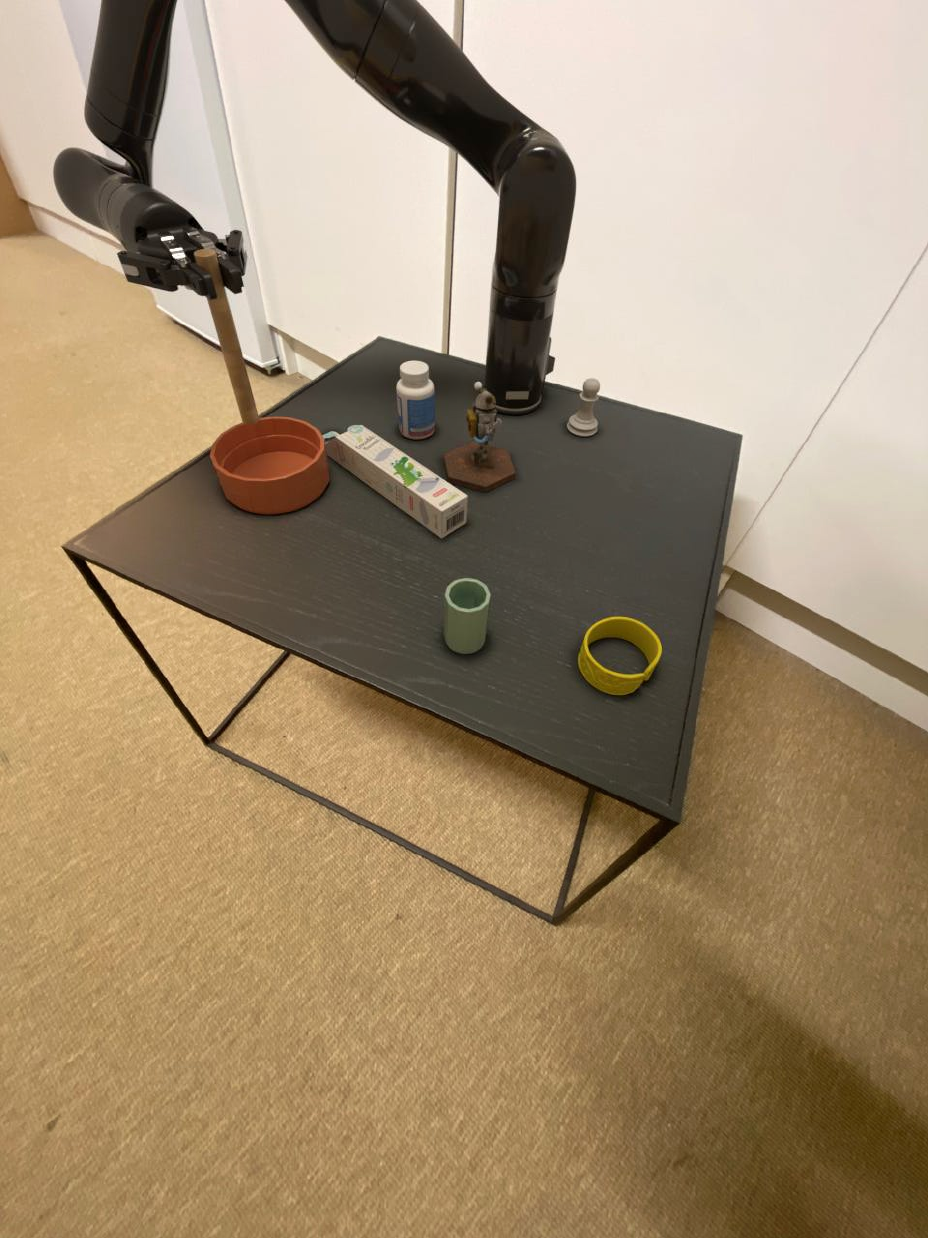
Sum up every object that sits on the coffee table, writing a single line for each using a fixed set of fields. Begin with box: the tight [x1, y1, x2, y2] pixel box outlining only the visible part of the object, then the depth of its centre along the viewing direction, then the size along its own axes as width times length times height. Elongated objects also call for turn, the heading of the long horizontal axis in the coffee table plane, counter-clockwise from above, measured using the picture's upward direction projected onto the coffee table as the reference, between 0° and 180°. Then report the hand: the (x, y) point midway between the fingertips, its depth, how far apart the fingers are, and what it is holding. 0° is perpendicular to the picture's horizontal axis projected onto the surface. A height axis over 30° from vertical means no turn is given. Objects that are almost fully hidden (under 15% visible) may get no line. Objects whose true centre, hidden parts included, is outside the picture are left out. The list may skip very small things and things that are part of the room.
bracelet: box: [577, 616, 663, 696], centre depth 58 cm, size 7×8×3 cm
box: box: [321, 424, 468, 539], centre depth 76 cm, size 4×4×28 cm
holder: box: [443, 577, 492, 655], centre depth 58 cm, size 4×4×7 cm
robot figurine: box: [443, 381, 516, 493], centre depth 75 cm, size 11×9×12 cm
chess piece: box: [566, 377, 601, 438], centre depth 84 cm, size 5×5×8 cm
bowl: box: [209, 416, 331, 515], centre depth 74 cm, size 14×14×6 cm
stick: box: [194, 249, 260, 425], centre depth 61 cm, size 2×2×18 cm
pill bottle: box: [396, 360, 436, 440], centre depth 82 cm, size 6×5×10 cm
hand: (224, 285), depth 55 cm, fingers closed on stick, 2 cm apart
